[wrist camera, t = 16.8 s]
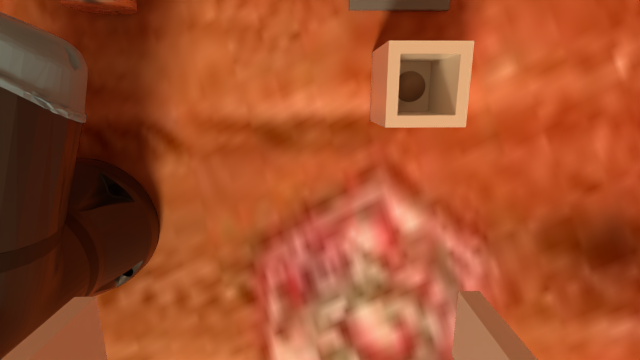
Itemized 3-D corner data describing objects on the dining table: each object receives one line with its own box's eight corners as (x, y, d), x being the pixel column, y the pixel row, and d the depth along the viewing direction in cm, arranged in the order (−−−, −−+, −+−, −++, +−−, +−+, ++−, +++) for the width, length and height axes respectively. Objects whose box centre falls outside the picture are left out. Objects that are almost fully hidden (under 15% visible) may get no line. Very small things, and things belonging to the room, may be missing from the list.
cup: (369, 120, 37) (385, 127, 30) (372, 52, 36) (388, 40, 28) (433, 120, 38) (465, 127, 30) (439, 52, 36) (474, 40, 28)
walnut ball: (390, 101, 36) (397, 102, 33) (392, 71, 35) (399, 69, 33) (419, 101, 36) (428, 102, 33) (421, 72, 35) (430, 70, 33)
